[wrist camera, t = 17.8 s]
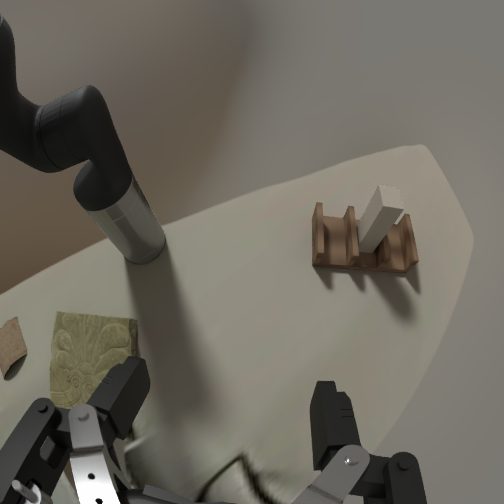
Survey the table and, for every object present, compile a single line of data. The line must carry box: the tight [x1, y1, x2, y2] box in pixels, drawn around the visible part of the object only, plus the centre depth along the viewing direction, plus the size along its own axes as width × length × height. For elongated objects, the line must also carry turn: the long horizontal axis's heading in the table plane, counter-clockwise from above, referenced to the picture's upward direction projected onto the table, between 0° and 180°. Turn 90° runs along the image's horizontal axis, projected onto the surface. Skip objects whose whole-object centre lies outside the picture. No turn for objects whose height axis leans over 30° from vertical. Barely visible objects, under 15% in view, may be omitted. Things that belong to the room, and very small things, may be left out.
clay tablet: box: [0, 317, 27, 378], centre depth 38 cm, size 14×10×3 cm
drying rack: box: [312, 202, 419, 273], centre depth 46 cm, size 10×19×5 cm, turn 84°
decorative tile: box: [50, 311, 137, 409], centre depth 38 cm, size 19×20×4 cm
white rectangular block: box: [356, 185, 404, 253], centre depth 41 cm, size 4×4×14 cm
